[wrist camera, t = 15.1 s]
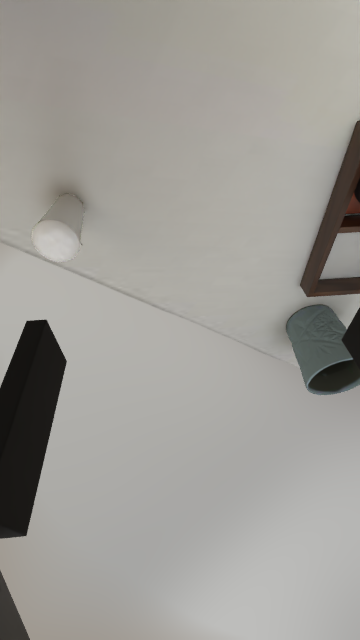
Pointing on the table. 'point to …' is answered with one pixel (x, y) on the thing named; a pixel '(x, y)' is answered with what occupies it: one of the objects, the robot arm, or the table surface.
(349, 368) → the green tapered cup
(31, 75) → the table surface
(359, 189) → the travel mug
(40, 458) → the robot arm
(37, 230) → the milkshake
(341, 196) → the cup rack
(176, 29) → the table surface
